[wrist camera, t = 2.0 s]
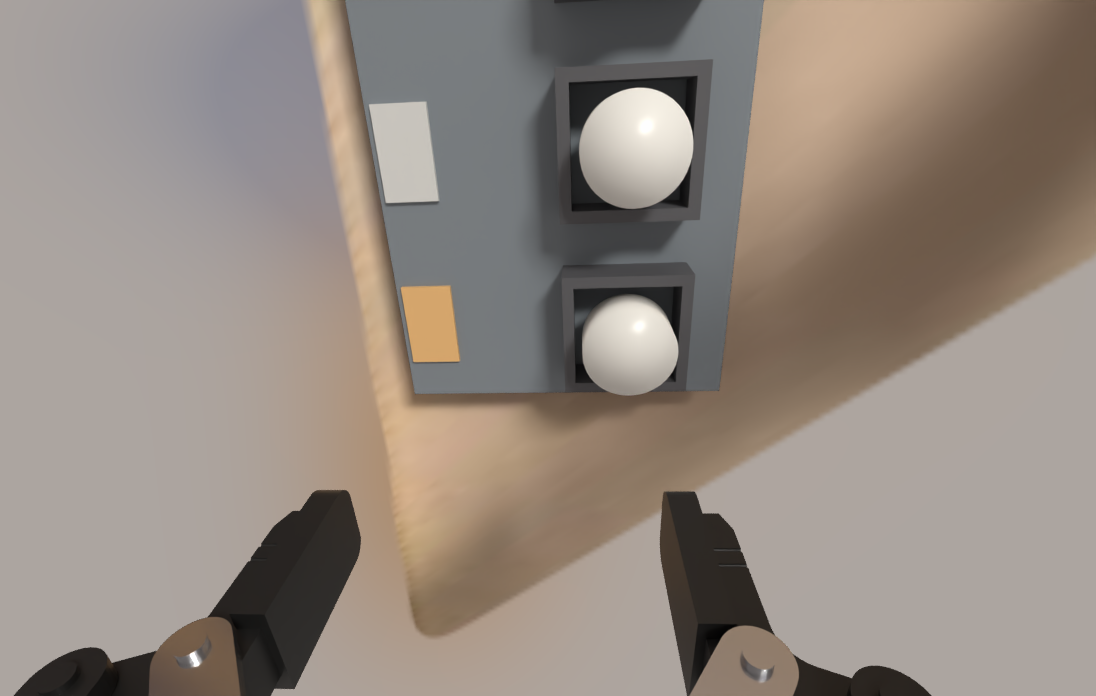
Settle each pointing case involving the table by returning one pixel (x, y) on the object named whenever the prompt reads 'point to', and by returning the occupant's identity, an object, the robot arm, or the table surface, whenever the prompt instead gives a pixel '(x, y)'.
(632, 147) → the button
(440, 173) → the switch panel
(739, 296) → the table surface
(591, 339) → the button
